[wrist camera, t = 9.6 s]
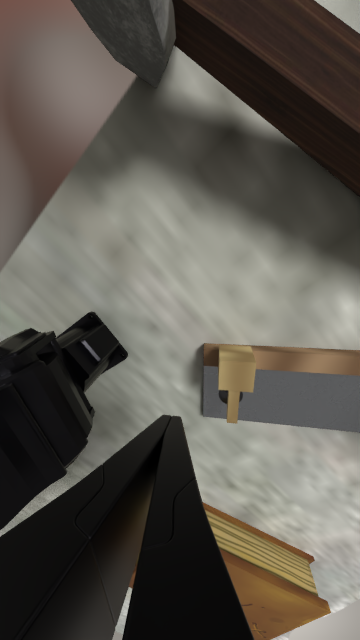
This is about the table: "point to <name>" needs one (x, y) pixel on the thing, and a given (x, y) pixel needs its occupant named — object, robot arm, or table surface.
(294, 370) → the trammel bar
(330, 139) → the hammer
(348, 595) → the table surface
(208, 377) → the bolt strip
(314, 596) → the diary
